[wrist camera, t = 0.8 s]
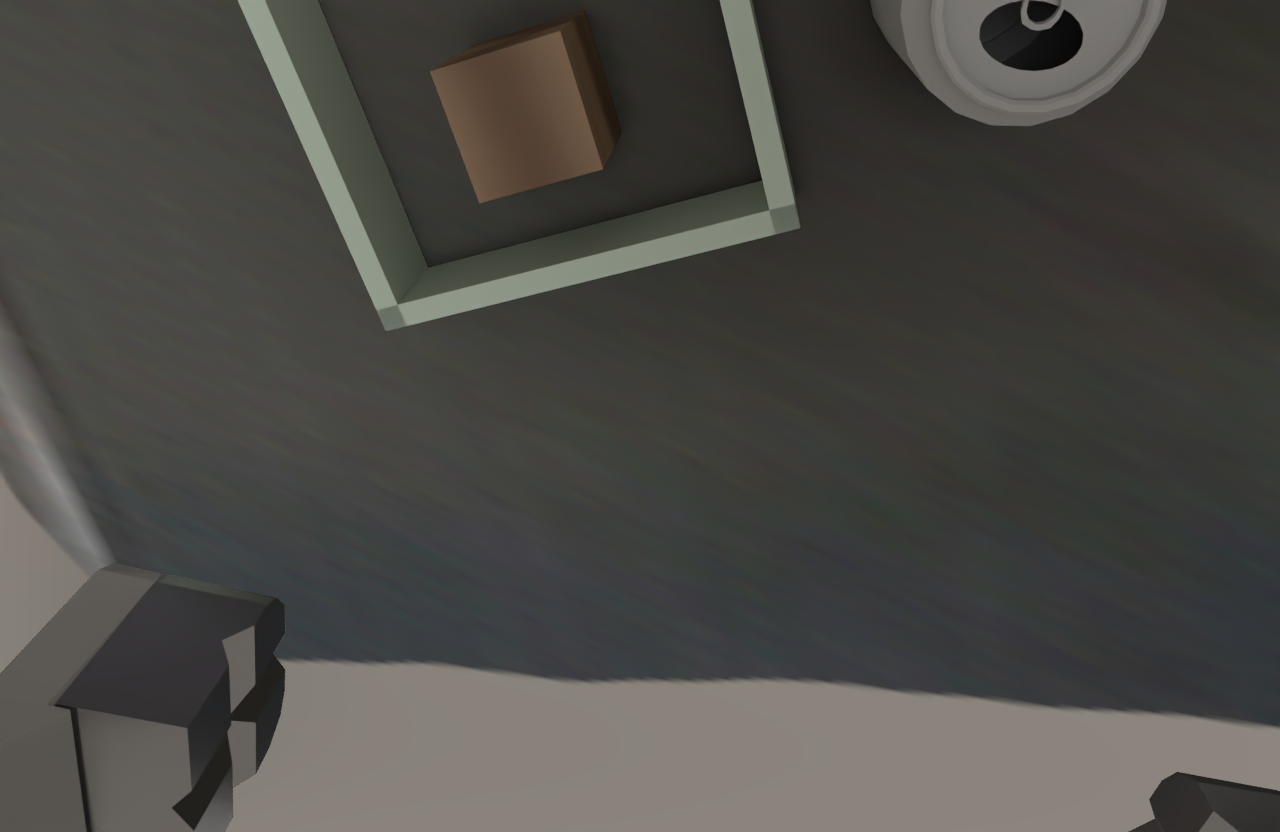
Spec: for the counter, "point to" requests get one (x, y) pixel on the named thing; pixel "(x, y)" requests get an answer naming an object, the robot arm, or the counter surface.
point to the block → (529, 107)
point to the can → (1018, 51)
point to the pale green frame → (416, 293)
